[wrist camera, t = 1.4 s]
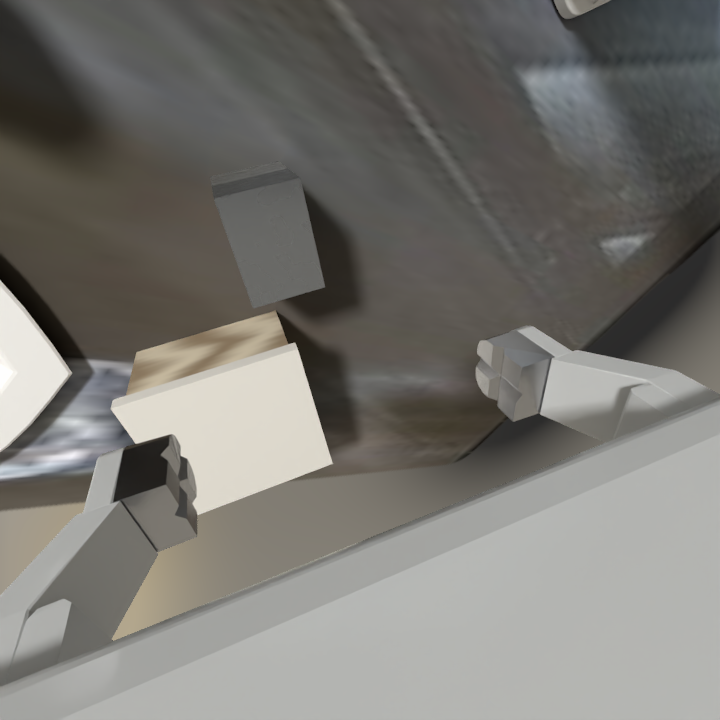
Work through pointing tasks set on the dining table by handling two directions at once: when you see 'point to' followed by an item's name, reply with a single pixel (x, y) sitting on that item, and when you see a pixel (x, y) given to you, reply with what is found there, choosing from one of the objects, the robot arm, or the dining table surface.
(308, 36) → the dining table surface
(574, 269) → the dining table surface
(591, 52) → the dining table surface
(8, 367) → the plate
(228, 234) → the block
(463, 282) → the dining table surface
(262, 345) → the stand
